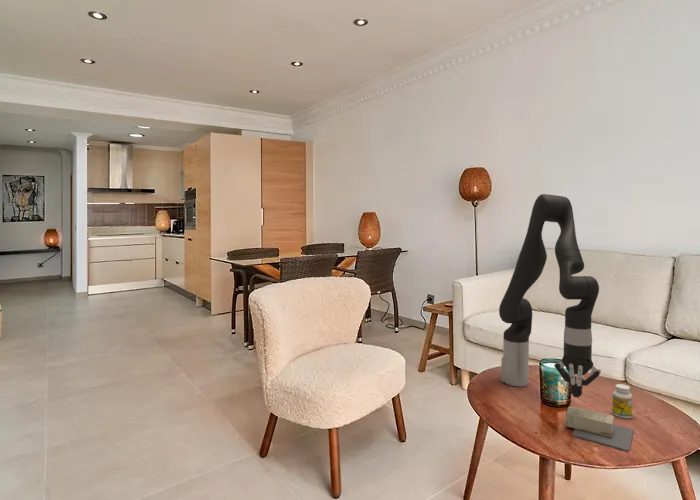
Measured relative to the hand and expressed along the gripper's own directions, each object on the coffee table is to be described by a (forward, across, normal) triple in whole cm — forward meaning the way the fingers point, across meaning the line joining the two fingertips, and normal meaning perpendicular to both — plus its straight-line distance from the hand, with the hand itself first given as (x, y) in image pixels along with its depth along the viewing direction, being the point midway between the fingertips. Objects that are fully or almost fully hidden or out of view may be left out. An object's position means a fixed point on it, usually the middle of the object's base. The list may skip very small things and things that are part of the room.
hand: (576, 396), depth 129 cm
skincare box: (+7, -3, 0) cm, 8 cm away
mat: (+10, +7, 0) cm, 12 cm away
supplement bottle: (+10, +10, +17) cm, 22 cm away
